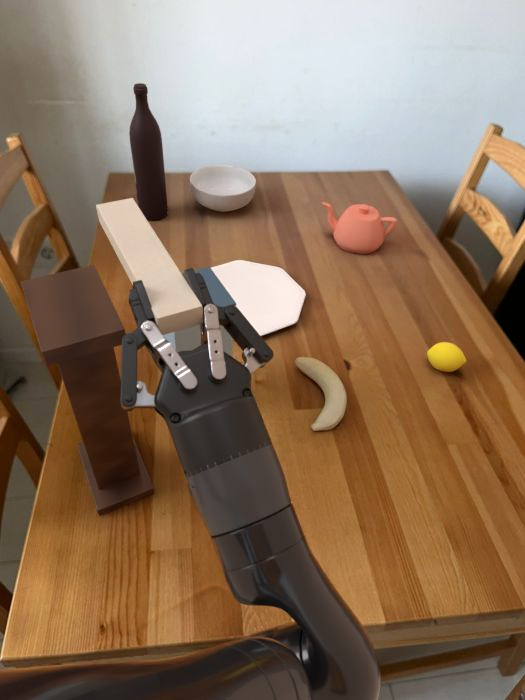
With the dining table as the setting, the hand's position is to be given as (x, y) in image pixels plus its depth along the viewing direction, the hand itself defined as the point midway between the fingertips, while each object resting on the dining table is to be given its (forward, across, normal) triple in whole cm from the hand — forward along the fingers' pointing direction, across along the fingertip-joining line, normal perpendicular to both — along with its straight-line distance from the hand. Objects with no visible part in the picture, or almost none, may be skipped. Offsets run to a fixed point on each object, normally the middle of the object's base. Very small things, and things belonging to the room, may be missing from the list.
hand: (162, 279), depth 45 cm
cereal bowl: (+46, -39, +72) cm, 94 cm away
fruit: (-11, -28, +39) cm, 49 cm away
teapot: (+22, -61, +58) cm, 87 cm away
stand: (-12, +7, +39) cm, 41 cm away
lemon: (-15, -53, +37) cm, 66 cm away
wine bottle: (+48, -21, +73) cm, 90 cm away
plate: (+13, -28, +53) cm, 61 cm away
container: (-3, -10, +44) cm, 45 cm away
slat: (+4, 0, +5) cm, 6 cm away
